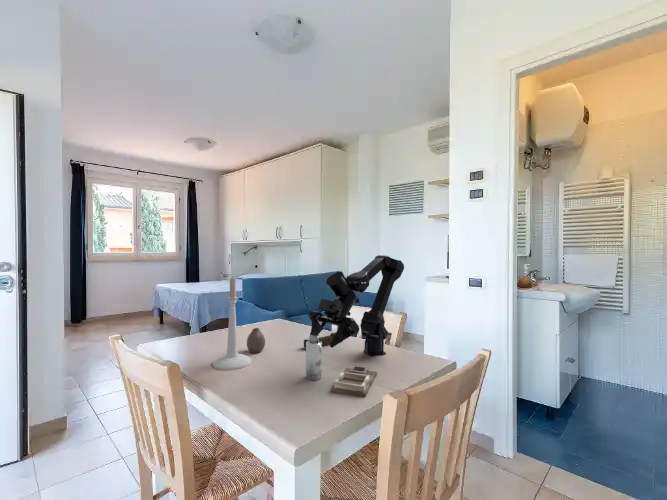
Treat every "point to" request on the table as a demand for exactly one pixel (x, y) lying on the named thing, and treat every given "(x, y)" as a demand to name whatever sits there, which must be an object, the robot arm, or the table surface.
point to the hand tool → (323, 339)
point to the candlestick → (232, 339)
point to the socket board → (354, 381)
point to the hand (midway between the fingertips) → (320, 343)
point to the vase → (255, 341)
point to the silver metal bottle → (313, 358)
